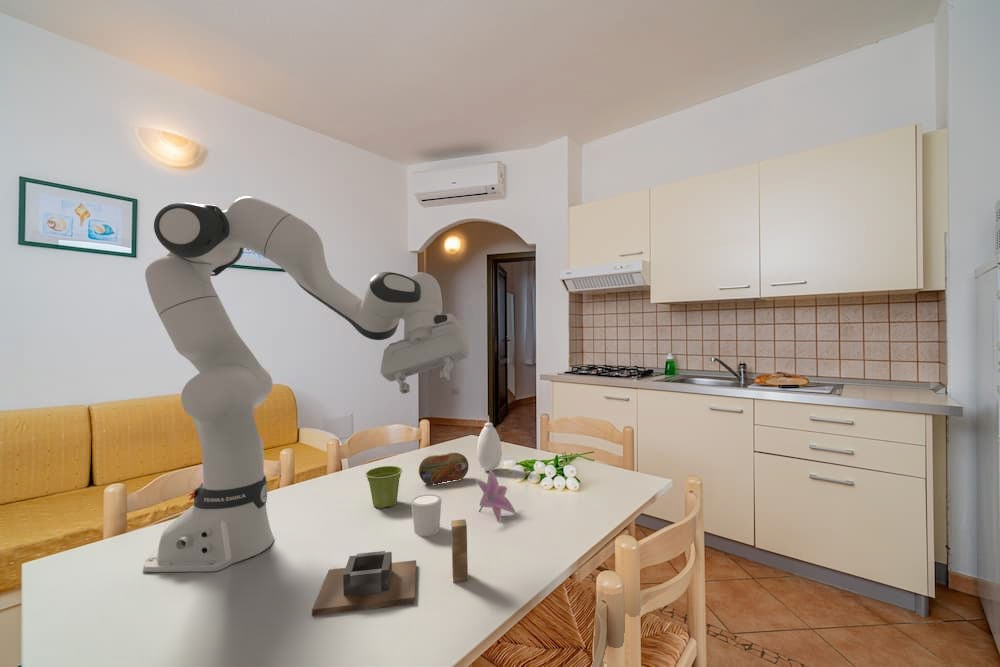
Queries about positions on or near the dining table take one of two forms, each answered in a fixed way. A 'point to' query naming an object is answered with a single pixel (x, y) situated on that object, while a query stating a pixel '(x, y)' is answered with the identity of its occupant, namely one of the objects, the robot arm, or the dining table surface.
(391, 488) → the plant pot
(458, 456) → the tin
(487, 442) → the sauce bottle
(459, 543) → the wooden stick
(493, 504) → the lily
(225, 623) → the dining table surface
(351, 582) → the socket board
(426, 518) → the white cup
